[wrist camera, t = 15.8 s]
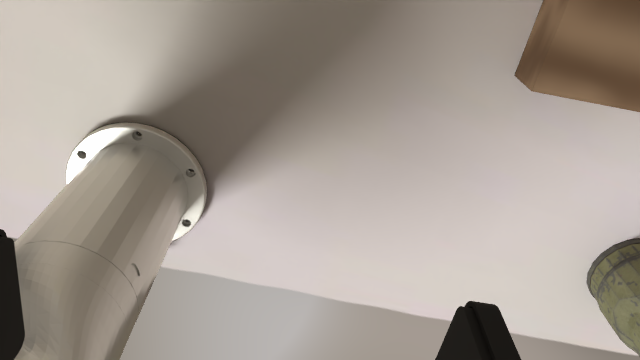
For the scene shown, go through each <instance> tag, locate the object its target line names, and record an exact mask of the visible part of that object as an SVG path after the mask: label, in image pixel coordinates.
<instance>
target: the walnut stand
mask: <svg viewBox="0 0 640 360" xmlns="http://www.w3.org/2000/svg"><path fill="white" fill-rule="evenodd" d="M515 76H516V77H517V78H518V79H519V80H520V81H521V82H522V83H523V84H524V85H526V86H527V87H528V88H529V89H530V90H531V91H533V92H539V93H544V94H549V95H554V96H559V97H564V98H570V99H575V100H580V101H585V102H590V103H596V104H601V105H606V106H611V107H616V108H621V109H627V110H632V111H637V112H640V0H543V3H542V6H541V8H540V11H539V13H538V16H537V19H536V21H535V24H534V26H533V29H532V31H531V34H530V37H529V39H528V42H527V44H526V47H525V50H524V52H523V55H522V57H521V60H520V62H519V65H518V68H517V70H516V73H515Z"/></svg>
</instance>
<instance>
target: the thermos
mask: <svg viewBox="0 0 640 360" xmlns="http://www.w3.org/2000/svg"><path fill="white" fill-rule="evenodd" d="M587 285H588V288H589V291H590V293H591V294H592V296H593V297H594V298H595V299H596V300H597V302H598V305H599V308H600V310H601V312H602V313H603V315H604V316H605V318H606V319H607V321H608V322H609V324H610V325H611V326H612V328H613V329H614V331H615V332H616V334H617V335H618V337H619V338H620V340H621V341H622V342H624V343H625V344H626V345H627V346H628V347H629V348H630V349H632V350H633V351H635V352H636V353H638V355H639V356H640V239H633V240H627V241H624V242H622V243H619V244H616V245H614V246H612V247H611V248H609V249H608V250H606V251H604V252H603V253H602V254H601V255H600V256H599V257H598V258H597V259H596V260H595V261H594V262H593V264H592V266H591V268H590V270H589V272H588V276H587Z"/></svg>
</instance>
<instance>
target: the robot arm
mask: <svg viewBox="0 0 640 360" xmlns="http://www.w3.org/2000/svg"><path fill="white" fill-rule="evenodd" d="M138 132H140V133H141V134H139V133H138ZM84 151H85V152H84ZM191 169H193V170H191ZM66 182H67V185H66V186H65V187H64V188H63V190H62V191H61V192H60V193H59V194H58V195H57V196H56V197H55V198H54V200H53V201H52V202H51V203H50V204H49V205H48V206H47V207H46V208H45V210H44V211H43V212H42V213H41V214H40V215H39V216H38V217H37V218H36V220H35V221H34V222H33V223H32V224H31V225H30V226H29V227H28V228H27V230H26V231H25V232H24V233H23V234H22V235H21V236H20V237H19V238H18V240H17V241H16V242H15V243H14V241H13V240H12V239H11V238H7V236H6V233H5V232H4V230H1V229H0V360H120V358H121V355H122V353H123V350H124V348H125V346H126V343H127V341H128V339H129V336H130V334H131V332H132V329H133V327H134V325H135V322H136V320H137V318H138V316H139V314H140V312H141V309H142V307H143V305H144V302H145V300H146V298H147V296H148V293H149V291H150V289H151V287H152V284H153V282H154V280H155V278H156V275H157V273H158V270H159V268H160V266H161V264H162V262H163V259H164V257H165V255H166V253H167V250H168V248H169V246H170V244H171V242H172V241H174V240H176V239H178V238H180V237H182V236H184V235H185V234H186V233H188V232H189V231H190V230H191V229H192V228H193V227H194V226H195V225H196V223H197V222H198V221H199V219H200V217H201V215H202V212H203V210H204V207H205V204H206V198H207V185H206V179H205V176H204V173H203V170H202V168H201V166H200V164H199V163H198V161H197V159H196V158H195V156H194V155H193V154H192V153H191V152H190V150H189V149H188V148H187V147H186V146H185V145H183V144H182V143H181V142H180V141H179V140H177V139H176V138H175V137H173V136H171V135H170V134H168V133H166V132H164V131H162V130H160V129H157V128H154V127H152V126H148V125H143V124H139V123H116V124H110V125H107V126H104V127H101V128H98V129H96V130H95V131H93V132H91V133H90V134H88V135H87V136H86V137H85V138H84V139H83V140H82V141H81V142H79V144H78V145H77V146H76V147H75V148H74V150H73V151H72V154H71V156H70V158H69V160H68V164H67V169H66ZM435 360H521V359H520V356H519V354H518V351H517V349H516V347H515V345H514V342H513V340H512V338H511V335H510V333H509V331H508V328H507V326H506V324H505V322H504V319H503V317H502V315H501V312H500V310H499V308H498V307H497V306H496V305H493V304H487V303H480V302H474V301H469V302H468V303H466V305H465V307H462V306H460V307H459V308H458V309H457V310H456V313H455V315H454V317H453V320H452V322H451V324H450V327H449V329H448V332H447V334H446V336H445V338H444V341H443V343H442V346H441V348H440V350H439V352H438V355H437V357H436V359H435Z"/></svg>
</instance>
